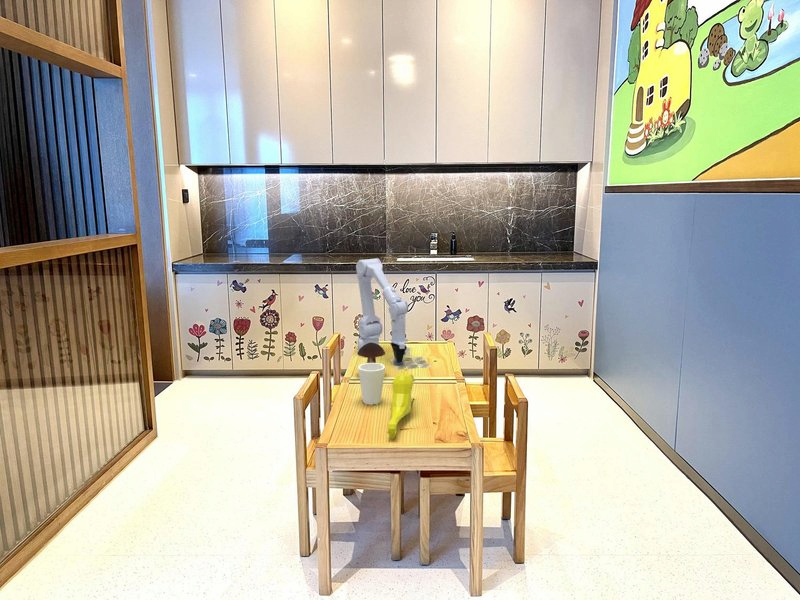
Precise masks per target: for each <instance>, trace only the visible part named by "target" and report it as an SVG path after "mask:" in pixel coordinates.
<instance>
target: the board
mask: <svg viewBox="0 0 800 600" xmlns="http://www.w3.org/2000/svg"><path fill="white" fill-rule="evenodd" d="M389 361H390V362H391V363H392V365H393V366H394V368H395V369H396V370H404V369H405V368H407V370H410V369H411V370H412V369H425V368H432V366H431V365H430V364H429V363H428V362H427V361H426V360H425V359H424V358H423V356H417V357H416V356H415V357H403V360H402V361H403V365H394V361H395V358H390V359H389Z"/></svg>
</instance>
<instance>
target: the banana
mask: <svg viewBox="0 0 800 600" xmlns="http://www.w3.org/2000/svg"><path fill="white" fill-rule="evenodd" d="M407 368H408V367H407ZM407 368H405V369H403V370H402V372H400V373H398V374H397V375H396V376H395V377H394V378H393V380H392V381H393V382H392V399H391V403H390V412H391V417H390V420H389V422H388V425H387V431H386V434H388V435H389V438H390V439H391V438H394V439H395V438H396V435H397V433H398V430H397V429H398V423H399V421H401V420H402V419H403V418H404V417H406V416H407V415H409V413H411V409H412V402H413V401H414V400H415V399H414V398H415V397H412V390H413V386H414V385H413V384H414V382H416V379H415V378H414V375H413V374H412V373H410V374H408V373H406V372H407V371H408V369H407ZM413 399H414V400H413Z"/></svg>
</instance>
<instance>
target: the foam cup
mask: <svg viewBox="0 0 800 600" xmlns="http://www.w3.org/2000/svg"><path fill="white" fill-rule="evenodd" d="M385 374H386V367H385V365H384V364H383V363H380V362H379V363H378V362H376V363H367V362H366V363H362V364H360V365H358V376H359V377H358V378H359V383H360V390H361V397H362V401H363V402H364V403H365V404H364V405H367V404H370V405H369V406H374V405H373V404H376V405H379V404H381V401H382V393H383V387H384V379H385ZM363 402H362V403H363ZM378 403H379V404H378Z"/></svg>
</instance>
